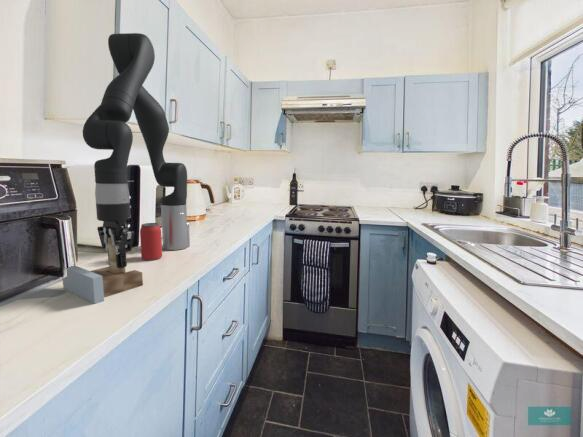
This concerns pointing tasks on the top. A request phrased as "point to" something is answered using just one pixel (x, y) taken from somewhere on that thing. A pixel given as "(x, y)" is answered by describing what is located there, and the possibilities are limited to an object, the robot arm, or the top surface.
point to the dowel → (113, 259)
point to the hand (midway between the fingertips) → (117, 265)
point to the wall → (84, 284)
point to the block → (119, 280)
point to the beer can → (151, 241)
